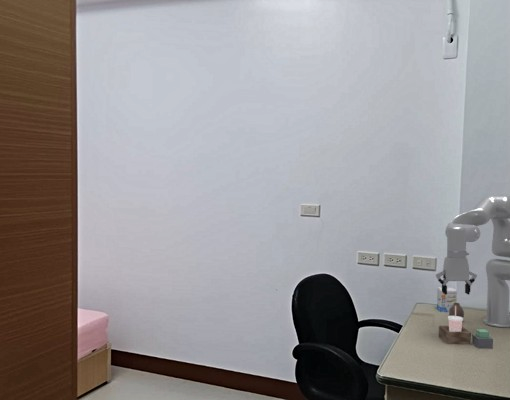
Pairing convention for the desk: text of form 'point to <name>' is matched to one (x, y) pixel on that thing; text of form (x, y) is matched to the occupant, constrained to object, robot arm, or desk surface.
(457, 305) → the vase
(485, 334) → the button
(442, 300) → the ink box
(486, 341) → the button housing
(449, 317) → the beverage cup
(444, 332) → the open wooden cube shelf
